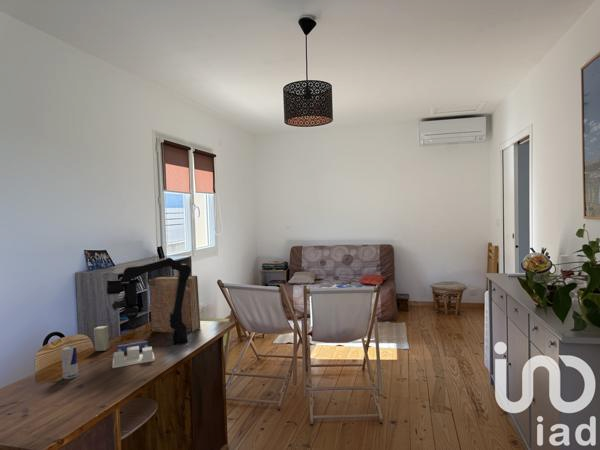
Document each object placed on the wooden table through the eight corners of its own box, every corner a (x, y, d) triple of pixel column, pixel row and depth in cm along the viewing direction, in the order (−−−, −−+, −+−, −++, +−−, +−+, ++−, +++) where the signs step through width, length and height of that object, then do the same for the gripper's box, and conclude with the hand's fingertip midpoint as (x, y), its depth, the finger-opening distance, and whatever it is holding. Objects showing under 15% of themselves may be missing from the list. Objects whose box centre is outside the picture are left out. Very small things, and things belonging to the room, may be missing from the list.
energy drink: (81, 374, 170) (79, 345, 169) (70, 379, 165) (68, 350, 164) (71, 373, 171) (69, 345, 171) (60, 378, 166) (58, 349, 166)
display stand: (113, 360, 184) (112, 349, 184) (153, 354, 191) (152, 343, 191) (112, 368, 175) (111, 356, 175) (154, 360, 182) (153, 349, 181)
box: (110, 347, 204) (108, 325, 204) (105, 350, 200) (103, 328, 200) (100, 348, 205) (98, 326, 204) (94, 351, 200) (93, 328, 200)
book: (200, 328, 231) (197, 275, 230) (192, 333, 222) (188, 278, 221) (161, 327, 238) (158, 276, 237) (151, 332, 229) (148, 278, 228)
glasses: (118, 352, 196) (118, 345, 196) (147, 347, 201) (147, 340, 201) (118, 358, 187) (117, 351, 187) (148, 353, 192) (148, 346, 192)
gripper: (112, 291, 202) (113, 323, 203) (111, 297, 185) (112, 332, 185) (137, 289, 207) (138, 320, 207) (137, 295, 190) (138, 329, 190)
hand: (131, 325), depth 197 cm, fingers open, 9 cm apart
